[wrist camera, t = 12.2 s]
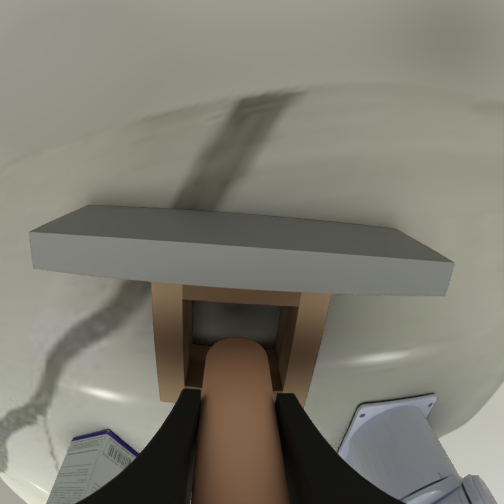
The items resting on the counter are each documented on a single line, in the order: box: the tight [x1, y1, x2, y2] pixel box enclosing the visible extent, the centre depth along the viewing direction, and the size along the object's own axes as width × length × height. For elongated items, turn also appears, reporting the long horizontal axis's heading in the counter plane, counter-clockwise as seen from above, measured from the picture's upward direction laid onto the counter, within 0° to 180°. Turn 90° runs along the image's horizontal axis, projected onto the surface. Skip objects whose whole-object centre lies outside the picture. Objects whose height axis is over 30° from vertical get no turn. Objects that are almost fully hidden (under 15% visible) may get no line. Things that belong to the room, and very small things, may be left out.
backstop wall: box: [29, 205, 454, 296], centre depth 14 cm, size 2×18×6 cm, turn 85°
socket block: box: [151, 282, 331, 408], centre depth 16 cm, size 8×8×4 cm
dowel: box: [191, 337, 290, 504], centre depth 10 cm, size 3×3×8 cm
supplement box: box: [46, 429, 139, 504], centre depth 17 cm, size 6×6×12 cm
